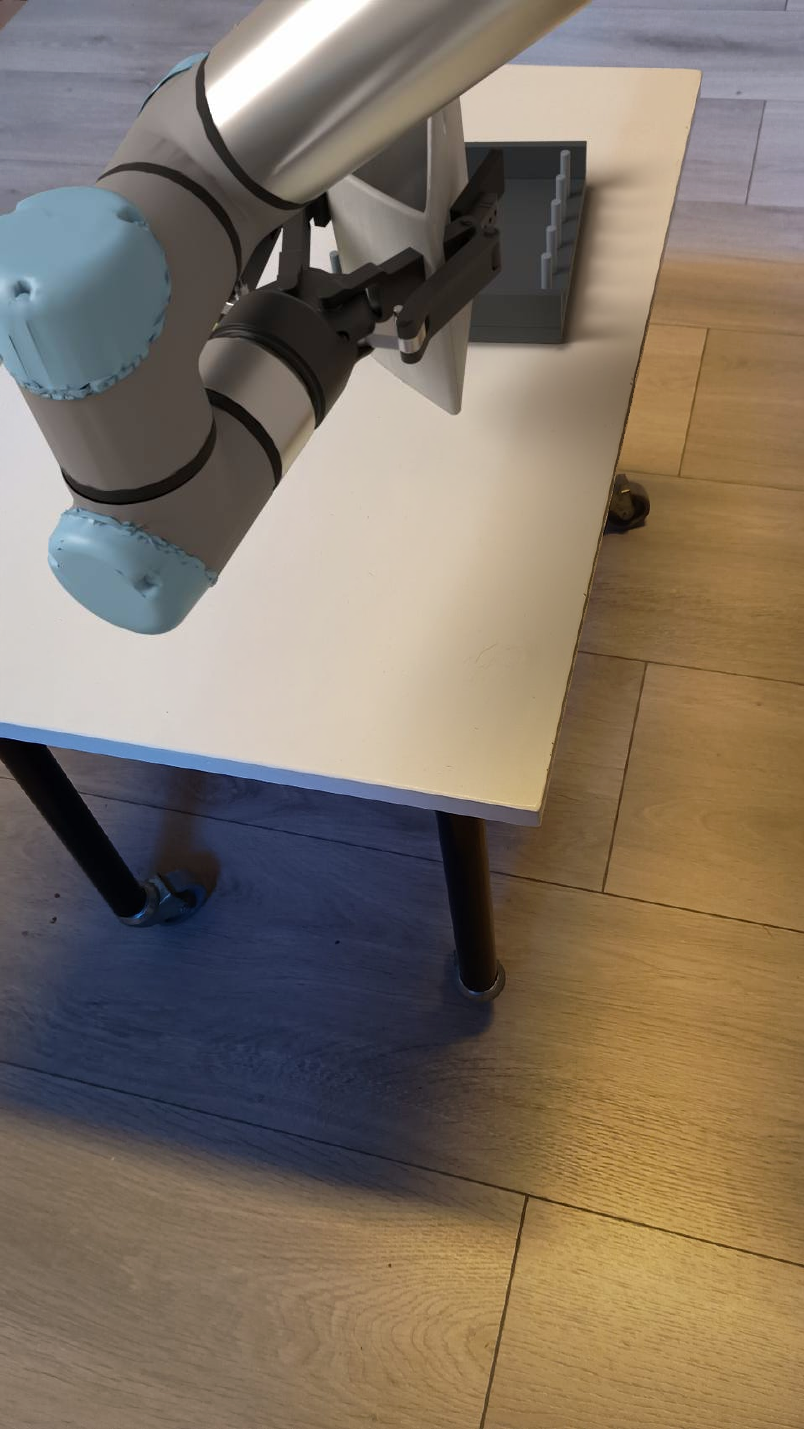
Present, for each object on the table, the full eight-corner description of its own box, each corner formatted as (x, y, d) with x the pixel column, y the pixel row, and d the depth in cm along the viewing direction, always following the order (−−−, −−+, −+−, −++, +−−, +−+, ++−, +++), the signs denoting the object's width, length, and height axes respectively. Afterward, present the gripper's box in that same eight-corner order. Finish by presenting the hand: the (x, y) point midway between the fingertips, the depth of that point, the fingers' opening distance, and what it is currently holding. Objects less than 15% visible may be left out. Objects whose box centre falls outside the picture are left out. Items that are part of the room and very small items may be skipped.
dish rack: (585, 189, 99) (587, 128, 95) (560, 344, 88) (561, 283, 84) (368, 189, 103) (359, 131, 98) (318, 337, 92) (306, 280, 87)
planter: (370, 273, 83) (317, -13, 67) (477, 266, 81) (448, -28, 66) (341, 421, 74) (272, 130, 58) (460, 416, 72) (423, 116, 56)
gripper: (118, 402, 67) (292, 190, 77) (446, 484, 60) (589, 239, 70) (73, 295, 61) (269, 80, 71) (433, 373, 54) (592, 122, 64)
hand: (428, 159), depth 71 cm, fingers closed on planter, 9 cm apart
